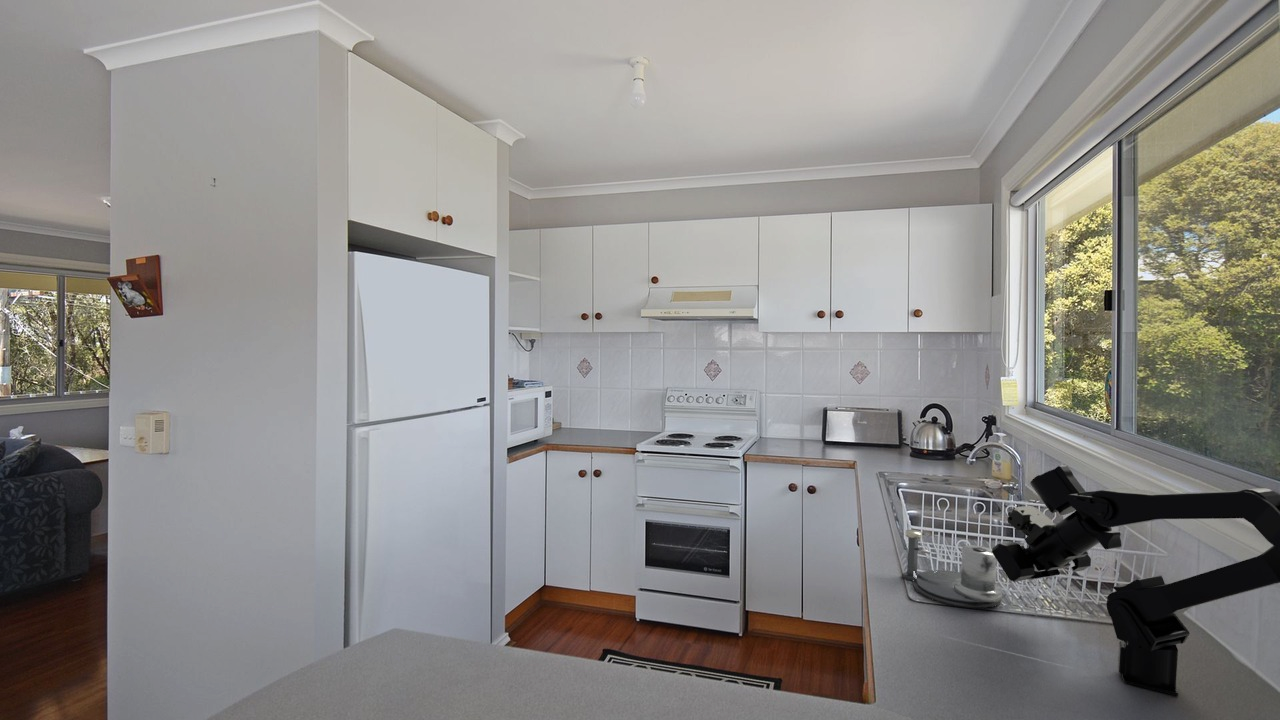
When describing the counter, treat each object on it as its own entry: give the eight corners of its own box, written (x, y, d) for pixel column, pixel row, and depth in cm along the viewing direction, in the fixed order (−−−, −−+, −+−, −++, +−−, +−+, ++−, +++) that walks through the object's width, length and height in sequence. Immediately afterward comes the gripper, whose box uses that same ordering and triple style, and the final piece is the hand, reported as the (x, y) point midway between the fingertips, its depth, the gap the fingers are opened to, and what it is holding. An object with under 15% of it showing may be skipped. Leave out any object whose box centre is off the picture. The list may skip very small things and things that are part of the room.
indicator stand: (900, 577, 141) (902, 531, 141) (908, 574, 143) (910, 528, 143) (924, 585, 137) (927, 537, 137) (932, 581, 139) (934, 534, 139)
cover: (1003, 591, 130) (1005, 548, 130) (1000, 605, 123) (1002, 559, 123) (956, 581, 134) (958, 540, 134) (950, 595, 127) (952, 550, 127)
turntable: (1003, 588, 136) (1004, 580, 136) (998, 615, 123) (998, 606, 123) (920, 572, 145) (921, 564, 145) (906, 595, 131) (907, 586, 131)
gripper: (1078, 492, 120) (1020, 534, 131) (1004, 499, 113) (949, 543, 124) (1120, 548, 113) (1055, 587, 124) (1044, 559, 106) (983, 600, 117)
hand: (1010, 577), depth 122 cm, fingers closed
